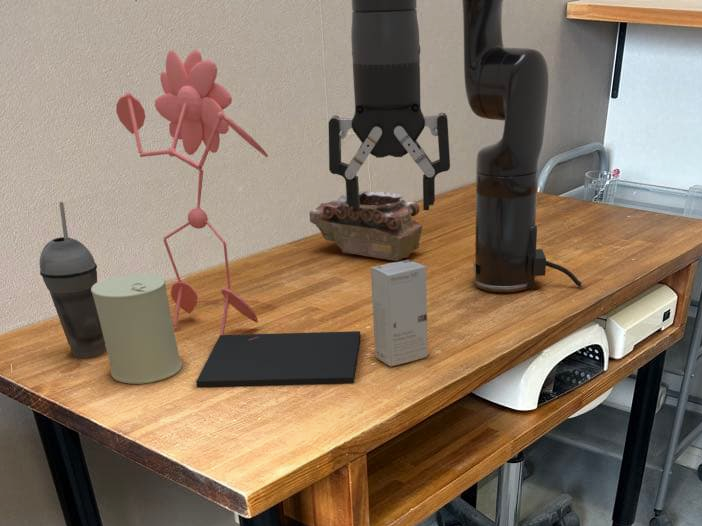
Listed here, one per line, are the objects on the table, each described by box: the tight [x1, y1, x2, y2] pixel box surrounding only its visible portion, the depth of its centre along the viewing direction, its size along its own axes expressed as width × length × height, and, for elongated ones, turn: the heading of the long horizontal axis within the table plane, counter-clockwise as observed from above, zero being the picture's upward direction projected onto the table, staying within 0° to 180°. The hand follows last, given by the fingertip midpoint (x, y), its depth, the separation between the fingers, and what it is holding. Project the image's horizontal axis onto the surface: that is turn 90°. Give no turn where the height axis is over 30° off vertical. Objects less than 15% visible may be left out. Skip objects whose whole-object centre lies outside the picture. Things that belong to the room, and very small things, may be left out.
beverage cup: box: [39, 201, 107, 359], centre depth 114 cm, size 7×7×20 cm
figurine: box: [115, 49, 279, 340], centre depth 119 cm, size 15×26×35 cm, turn 59°
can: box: [91, 272, 183, 385], centre depth 111 cm, size 9×9×12 cm
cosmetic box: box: [370, 259, 429, 367], centre depth 111 cm, size 6×4×12 cm
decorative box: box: [309, 190, 424, 262], centre depth 152 cm, size 13×20×10 cm, turn 53°
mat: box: [195, 330, 361, 388], centre depth 115 cm, size 20×16×1 cm
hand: (391, 209), depth 104 cm, fingers open, 8 cm apart
